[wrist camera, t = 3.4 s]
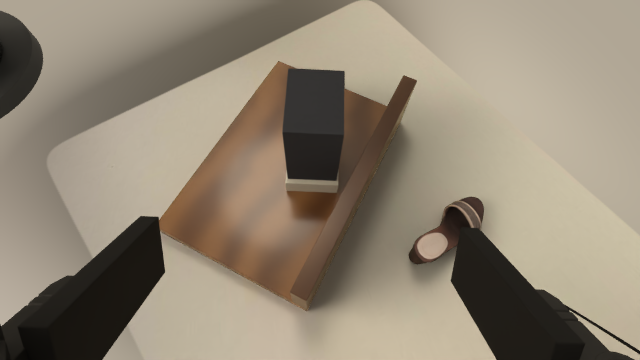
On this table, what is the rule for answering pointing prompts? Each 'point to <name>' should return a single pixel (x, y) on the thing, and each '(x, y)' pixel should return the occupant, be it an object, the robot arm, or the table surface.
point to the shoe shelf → (280, 192)
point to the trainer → (313, 129)
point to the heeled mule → (448, 230)
